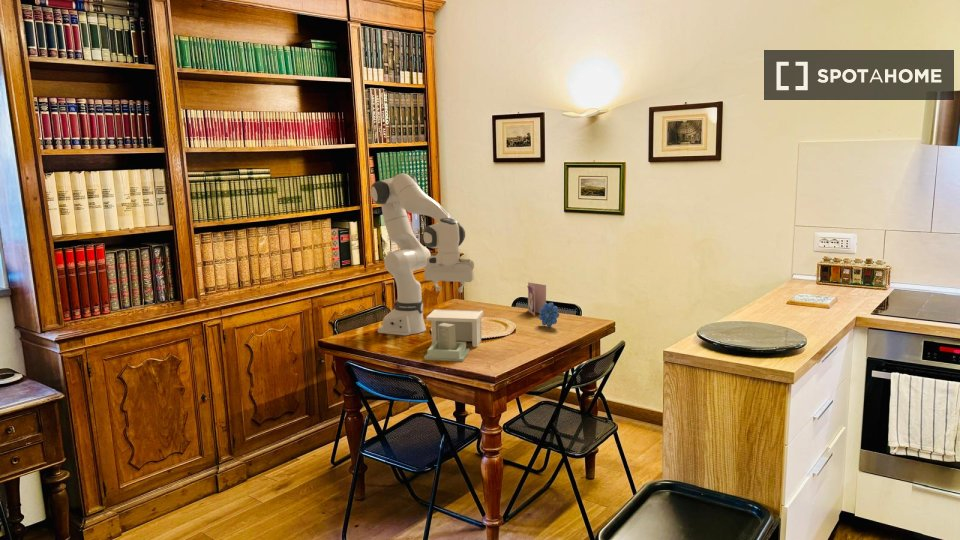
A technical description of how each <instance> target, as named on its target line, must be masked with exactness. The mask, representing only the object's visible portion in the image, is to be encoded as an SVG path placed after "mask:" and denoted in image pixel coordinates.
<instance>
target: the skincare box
mask: <svg viewBox="0 0 960 540" xmlns="http://www.w3.org/2000/svg"><path fill="white" fill-rule="evenodd" d="M438 340H439V349H443V350H456V342H457V341H456V335H455V324H449V323H442V324H439V325H438Z"/></svg>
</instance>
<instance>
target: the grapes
mask: <svg viewBox="0 0 960 540" xmlns="http://www.w3.org/2000/svg"><path fill="white" fill-rule="evenodd" d="M558 311H559V307H558V306H556V305H555V304H554V303H553V302H548V303H547V302H546V303H545V304H544V305H543V308H540V310H539V316H538V320H540V321H541V324H542V326H547V327H548V328H551V327H552V326H553V325H555V324H556V323H557V322H558V318H559V317H560V313H559V312H558Z"/></svg>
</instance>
